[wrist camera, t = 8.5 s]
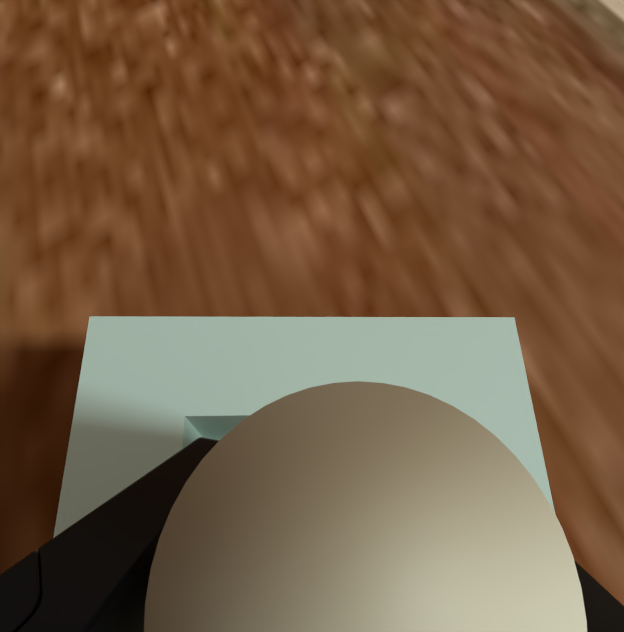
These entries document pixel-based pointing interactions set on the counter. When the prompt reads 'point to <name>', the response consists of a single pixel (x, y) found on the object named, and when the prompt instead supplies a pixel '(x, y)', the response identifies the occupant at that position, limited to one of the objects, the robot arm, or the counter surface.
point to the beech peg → (362, 526)
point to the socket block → (272, 384)
